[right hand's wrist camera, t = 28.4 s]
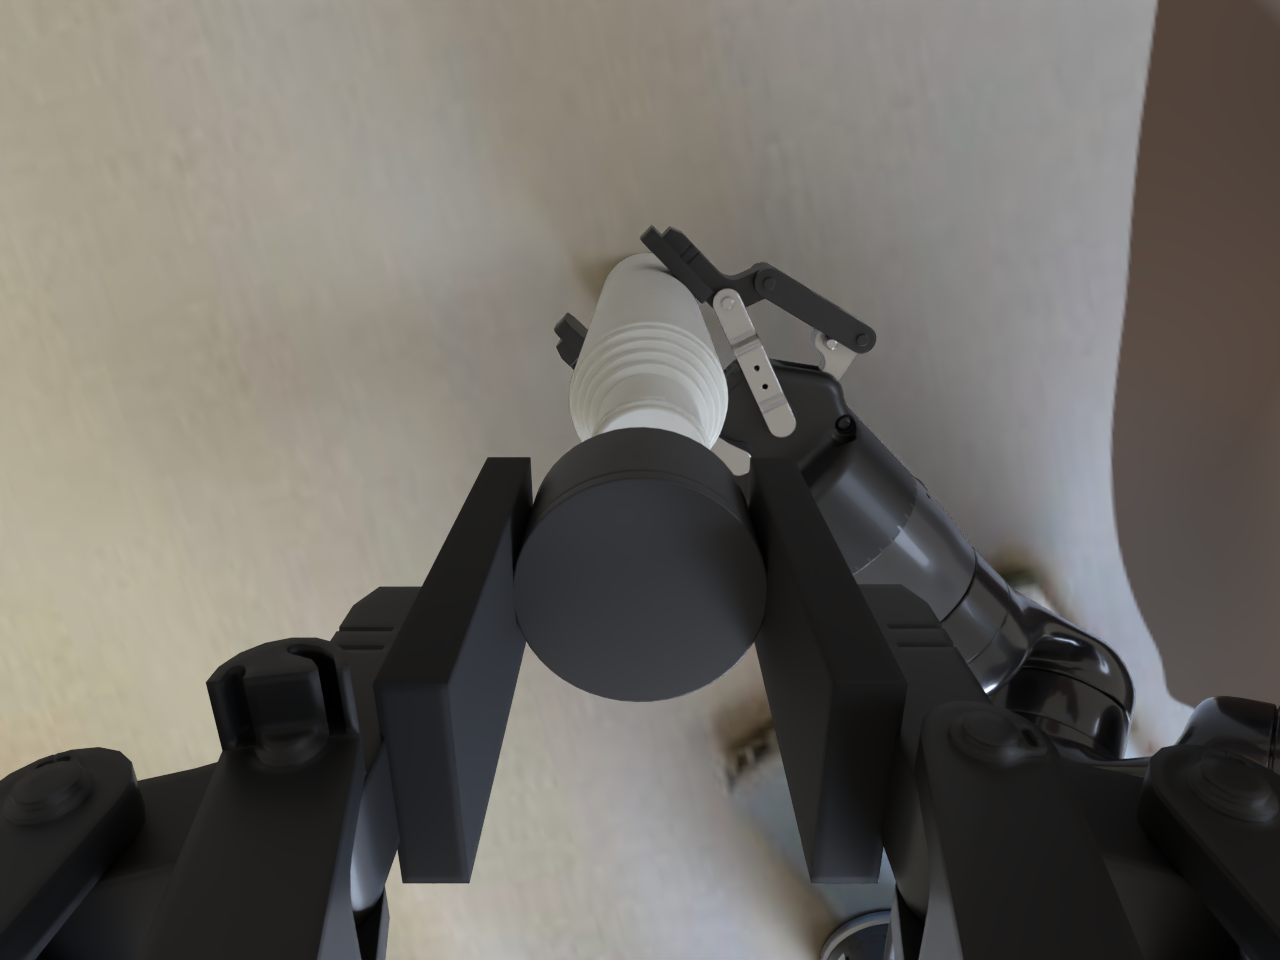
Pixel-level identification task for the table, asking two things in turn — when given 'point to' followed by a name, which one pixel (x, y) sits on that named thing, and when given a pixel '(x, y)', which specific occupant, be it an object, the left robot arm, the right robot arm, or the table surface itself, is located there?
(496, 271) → the table surface
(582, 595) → the cap
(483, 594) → the right robot arm
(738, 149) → the table surface
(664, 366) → the bottle
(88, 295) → the table surface
